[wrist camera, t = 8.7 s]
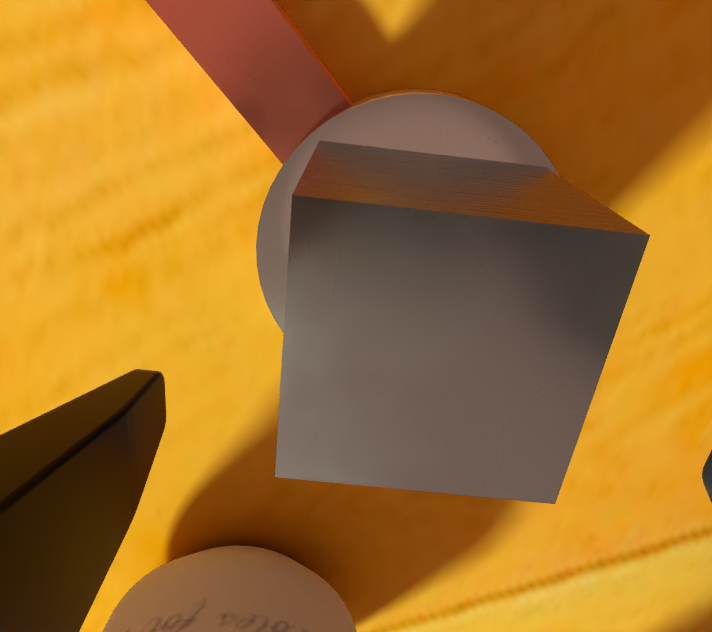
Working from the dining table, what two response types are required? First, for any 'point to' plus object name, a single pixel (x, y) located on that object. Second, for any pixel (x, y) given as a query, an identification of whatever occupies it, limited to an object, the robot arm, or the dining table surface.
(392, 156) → the matte grey cube
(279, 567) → the teacup
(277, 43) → the pan with red handle
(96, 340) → the dining table surface
